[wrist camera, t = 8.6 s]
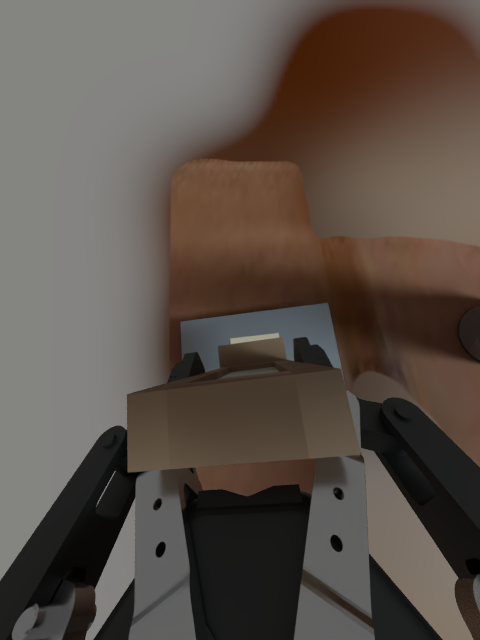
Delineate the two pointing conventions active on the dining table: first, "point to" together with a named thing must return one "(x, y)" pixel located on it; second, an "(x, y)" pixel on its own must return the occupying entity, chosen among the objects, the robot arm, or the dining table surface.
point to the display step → (260, 332)
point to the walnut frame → (242, 413)
